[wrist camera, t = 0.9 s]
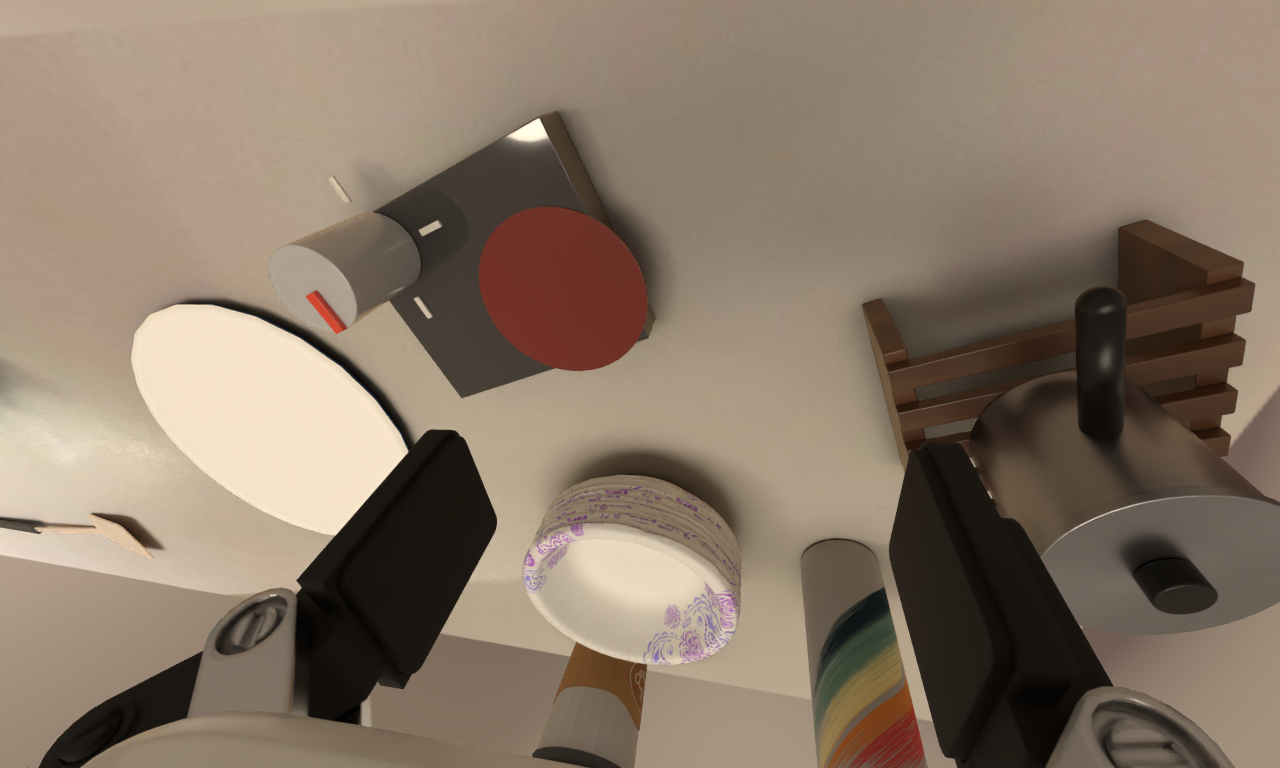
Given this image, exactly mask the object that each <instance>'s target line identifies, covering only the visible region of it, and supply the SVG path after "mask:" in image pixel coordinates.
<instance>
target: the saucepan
mask: <svg viewBox="0 0 1280 768" xmlns="http://www.w3.org/2000/svg"><path fill="white" fill-rule="evenodd" d="M1126 323H1127V299H1126V297H1125V295H1124V294H1123V293H1122V292H1121V291H1120V290H1119V289H1117V288H1114V287H1111V286H1096V287H1092V288H1090V289H1088V290H1086V291H1084V292H1083V293H1082V294H1081V295H1080V296H1079V297H1078V298H1077V300H1076V302H1075V339H1076V371H1070V372H1062V373H1056V374H1051V375H1047V376H1043V377H1040V378H1037V379H1034V380H1031V381H1028V382H1026V383H1024V384H1022V385H1019V386H1017V387H1015V388H1014V389H1012V390H1010V391H1008V392H1006V393H1005V394H1003V395H1002V396H1001V397H999V398H998V399H996V400H995V401H994V402H993V403H992V404H990V405H989V406H988V407H987V408H986V409H985V411H984V412H983V413H982V414H981V415H980V417H979V418H978V420H977V421H976V423H975V425H974V427H973V429H972V432H971V435H970V442H969V447H970V454H971V457H972V459H973V461H974V463H975V465H976V467H977V469H978V471H979V473H980V475H981V477H982V478H983V480H984V482H985V484H986V486H987V488H988V490H989V492H990V494H991V496H992V498H993V499H994V501H995V503H996V505H997V507H998V509H999V511H1000V513H1001V515H1002V517H1003V518H1013V519H1015V520H1016V521H1017V522H1019V523H1020V524H1021V526H1022V527H1023V529H1024V530H1025V531H1026V533H1027V535H1028V537H1029V539H1030V540H1031V542H1032V544H1033V546H1034V547H1035V549H1036V551H1037V553H1038V554H1039V556H1040V558H1041V560H1042V561H1043V563H1044V565H1045V567H1046V568H1047V570H1048V572H1049V574H1050V575H1051V577H1052V579H1053V581H1054V582H1055V584H1056V586H1057V588H1058V590H1059V591H1060V593H1061V595H1062V597H1063V598H1064V600H1065V602H1066V604H1067V605H1068V607H1069V609H1070V611H1071V612H1072V614H1073V616H1074V618H1075V619H1076V621H1077V623H1078V625H1081V626H1084V627H1088V628H1091V629H1095V630H1100V631H1106V632H1112V633H1121V634H1139V635H1151V634H1152V635H1156V634H1172V633H1181V632H1189V631H1196V630H1201V629H1206V628H1211V627H1215V626H1219V625H1223V624H1227V623H1230V622H1233V621H1237V620H1240V619H1243V618H1245V617H1248V616H1251V615H1253V614H1256V613H1258V612H1260V611H1263V610H1265V609H1267V608H1269V607H1271V606H1273V605H1275V604H1276V603H1278V602H1280V502H1278V501H1276V500H1274V499H1271V498H1268V497H1266V496H1264V495H1263V494H1262V493H1261V492H1260V491H1258V490H1257V489H1256V488H1255V487H1254V486H1253V485H1252V484H1250V483H1249V482H1248V481H1247V480H1246V479H1245V478H1244V477H1242V476H1241V475H1240V474H1239V473H1238V472H1237V471H1236V470H1235V469H1233V468H1232V467H1231V466H1230V465H1229V464H1228V463H1227V462H1225V461H1224V460H1223V459H1222V458H1221V457H1220V456H1219V455H1217V454H1216V453H1215V452H1214V451H1213V450H1212V449H1211V448H1210V447H1208V446H1207V445H1206V444H1205V443H1204V442H1203V441H1202V440H1200V439H1199V438H1198V437H1197V436H1196V435H1195V434H1194V433H1192V432H1191V431H1190V430H1189V429H1188V428H1187V427H1186V426H1185V425H1183V424H1182V423H1181V422H1180V421H1179V420H1178V419H1177V418H1175V417H1174V416H1173V415H1172V414H1171V413H1170V412H1169V411H1167V410H1166V409H1165V408H1164V407H1163V406H1162V405H1161V404H1159V403H1158V402H1157V401H1156V400H1155V399H1154V398H1153V397H1152V396H1150V395H1149V394H1148V393H1147V392H1146V391H1145V390H1144V389H1142V388H1141V387H1140V386H1138V385H1137V384H1136V383H1134V382H1132V381H1130V380H1128V379H1126V378H1125V359H1126Z"/></svg>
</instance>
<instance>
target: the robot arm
mask: <svg viewBox="0 0 1280 768" xmlns="http://www.w3.org/2000/svg"><path fill="white" fill-rule="evenodd" d="M496 527H497V517H496V514H495V512H494V509H493V507H492V504H491V502H490V499H489V497H488V495H487V492H486V490H485V487H484V485H483V482H482V480H481V477H480V475H479V472H478V470H477V467H476V465H475V463H474V460H473V458H472V455H471V453H470V450H469V448H468V445H467V443H466V441H465V439H464V438H463V437H460V436H459V434H458V433H457V432H456V431H454V430H429V431H427V432H426V433H425V434H424V435H423V436H422V437H421V438H420V439H419V440H418V442H417V443H416V444H415V445H414V446H413V447H412V448H411V450H410V451H409V452H408V453H407V454H406V455H405V456H404V458H403V459H402V460H401V461H400V462H399V463H398V465H397V466H396V467H395V468H394V469H393V470H392V471H391V473H390V474H389V475H388V476H387V477H386V478H385V479H384V481H383V482H382V483H381V484H380V485H379V486H378V487H377V489H376V490H375V491H374V492H373V493H372V494H371V495H370V497H369V498H368V499H367V500H366V501H365V502H364V503H363V505H362V506H361V507H360V508H359V509H358V510H357V512H356V513H355V514H354V515H353V516H352V517H351V518H350V520H349V521H348V522H347V523H346V524H345V525H344V526H343V528H342V529H341V530H340V531H339V532H338V533H337V534H336V536H335V537H334V538H333V539H332V540H331V541H330V542H329V544H328V545H327V546H326V547H325V548H324V549H323V551H322V552H321V553H320V554H319V555H318V556H317V557H316V559H315V560H314V561H313V562H312V563H311V564H310V565H309V567H308V568H307V569H306V570H305V571H304V572H303V573H302V575H301V576H300V577H299V578H298V579H297V580H296V581H297V582H298V583H299V584H300V586H301V587H302V588H301V590H300V591H299V592H298V593H297V594H296V595H295V594H294V593H293V592H292V591H291V590H289V589H285V588H275V589H269V590H266V591H263V592H260V593H257V594H255V595H253V596H252V597H250V598H248V599H246V600H244V601H243V602H241V603H240V604H239V605H237V606H236V607H234V608H233V609H232V610H230V611H229V612H228V613H227V614H226V615H225V616H224V617H223V618H222V619H221V620H220V621H219V622H218V623H217V625H216V626H215V627H214V629H213V630H212V631H211V633H210V635H209V637H208V639H207V641H206V644H205V646H204V651H202V652H200V653H198V654H196V655H194V656H192V657H190V658H188V659H186V660H184V661H182V662H180V663H178V664H176V665H174V666H173V667H171V668H169V669H167V670H165V671H163V672H161V673H159V674H157V675H155V676H153V677H151V678H149V679H147V680H146V681H143V682H141V683H139V684H138V685H136V686H134V687H132V688H130V689H128V690H126V691H124V692H122V693H120V694H118V695H116V696H114V697H112V698H110V699H108V700H106V701H105V702H103V703H102V704H100V705H98V706H97V707H95V708H93V709H92V710H90V711H89V712H87V713H86V714H85V715H84V716H82V717H81V718H80V719H79V720H77V721H76V722H75V723H73V724H72V725H71V726H70V727H69V728H68V729H67V730H66V731H65V732H64V733H63V734H62V735H61V736H60V737H59V738H58V739H57V740H56V742H55V743H54V744H53V745H52V747H51V748H50V749H49V751H48V752H47V753H46V755H45V756H44V758H43V760H42V762H41V764H40V766H39V768H587V767H582V766H577V765H571V764H566V763H561V762H556V761H550V760H545V759H540V758H534V757H528V756H524V755H518V754H513V753H508V752H502V751H497V750H492V749H486V748H481V747H475V746H470V745H465V744H459V743H454V742H448V741H443V740H437V739H432V738H427V737H421V736H416V735H410V734H405V733H399V732H394V731H388V730H383V729H378V728H373V720H372V704H371V691H372V690H373V688H374V686H375V685H376V683H377V681H378V683H379V684H380V685H381V686H387V687H393V688H400V689H404V687H405V686H406V684H407V682H408V680H409V678H410V677H411V675H412V674H414V673H416V672H417V671H418V670H419V669H420V668H421V666H422V665H423V663H424V661H425V659H426V657H427V656H428V654H429V652H430V650H431V648H432V647H433V645H434V643H435V640H436V639H437V637H438V636H439V634H440V632H441V630H442V628H443V626H444V625H445V623H446V621H447V619H448V617H449V615H450V614H451V612H452V610H453V608H454V606H455V604H456V603H457V601H458V599H459V597H460V595H461V593H462V591H463V590H464V588H465V586H466V584H467V582H468V580H469V579H470V577H471V575H472V573H473V571H474V569H475V568H476V566H477V564H478V562H479V560H480V558H481V557H482V555H483V553H484V551H485V549H486V547H487V546H488V544H489V542H490V540H491V538H492V536H493V535H494V533H495V530H496ZM889 556H890V562H891V566H892V570H893V574H894V577H895V581H896V585H897V589H898V592H899V596H900V600H901V604H902V607H903V611H904V615H905V619H906V622H907V626H908V630H909V633H910V637H911V641H912V645H913V648H914V652H915V656H916V660H917V663H918V667H919V671H920V675H921V678H922V682H923V686H924V689H925V693H926V697H927V701H928V704H929V708H930V712H931V716H932V719H933V723H934V727H935V731H936V734H937V738H938V742H939V745H940V748H941V750H942V752H943V754H944V756H945V757H947V758H953V759H955V761H956V765H957V768H1235V767H1234V766H1233V765H1232V763H1231V762H1230V760H1229V759H1228V758H1227V756H1226V755H1225V754H1224V752H1223V751H1222V750H1221V748H1220V747H1219V746H1218V744H1217V743H1215V741H1213V740H1212V739H1211V738H1210V737H1209V736H1208V735H1207V734H1206V733H1205V732H1204V731H1203V730H1202V729H1201V728H1200V727H1198V726H1197V725H1196V724H1195V723H1194V722H1193V721H1191V720H1190V719H1188V718H1187V717H1185V716H1184V715H1182V714H1181V713H1179V712H1178V711H1177V710H1175V709H1174V708H1172V707H1171V706H1169V705H1167V704H1165V703H1163V702H1161V701H1159V700H1157V699H1155V698H1153V697H1151V696H1149V695H1147V694H1144V693H1141V692H1137V691H1134V690H1130V689H1127V688H1123V687H1114V686H1113V685H1112V683H1111V681H1110V679H1109V677H1108V676H1107V674H1106V672H1105V671H1104V669H1103V667H1102V665H1101V663H1100V662H1099V660H1098V658H1097V656H1096V655H1095V653H1094V651H1093V649H1092V648H1091V646H1090V644H1089V642H1088V640H1087V639H1086V637H1085V635H1084V634H1083V632H1082V630H1081V628H1080V626H1079V625H1078V623H1077V621H1076V619H1075V618H1074V616H1073V614H1072V612H1071V611H1070V609H1069V607H1068V605H1067V604H1066V602H1065V600H1064V598H1063V597H1062V595H1061V593H1060V591H1059V590H1058V588H1057V586H1056V584H1055V582H1054V581H1053V579H1052V577H1051V575H1050V574H1049V572H1048V570H1047V568H1046V567H1045V565H1044V563H1043V561H1042V560H1041V558H1040V556H1039V554H1038V553H1037V551H1036V549H1035V547H1034V546H1033V544H1032V542H1031V540H1030V539H1029V537H1028V535H1027V533H1026V531H1025V530H1024V529H1023V527H1022V526H1021V524H1020V523H1019V522H1017V521H1016V520H1015V519H1013V518H1001V517H1000V515H999V513H998V511H997V509H996V507H995V506H994V504H993V502H992V500H991V498H990V496H989V494H988V492H987V490H986V489H985V487H984V485H983V483H982V481H981V479H980V477H979V475H978V474H977V472H976V470H975V468H974V466H973V464H972V462H971V460H970V459H969V457H968V455H967V453H966V451H965V449H964V448H963V446H962V445H961V444H960V443H958V442H923V444H922V445H921V448H920V449H912V450H911V451H910V454H909V458H908V462H907V467H906V471H905V476H904V480H903V485H902V489H901V494H900V498H899V503H898V507H897V512H896V516H895V521H894V525H893V530H892V534H891V539H890V544H889ZM29 768H31V767H29Z"/></svg>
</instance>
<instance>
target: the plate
mask: <svg viewBox="0 0 1280 768" xmlns="http://www.w3.org/2000/svg"><path fill="white" fill-rule="evenodd" d="M131 362H132V366H133V370H134V374H135V378H136V382H137V386H138V389H139V391H140V393H141V395H142V397H143V398H144V400H145V402H146V404H147V406H148V408H149V410H150V411H151V413H152V415H153V417H154V418H155V420H156V421H157V422H158V423H159V425H160V426H161V427H162V428H163V430H164V431H165V432H166V434H167V435H168V436H169V437H170V439H171V440H172V441H173V442H174V444H175V445H176V446H177V447H178V448H179V449H180V450H181V451H182V452H183V453H184V454H185V455H186V456H188V457H189V458H190V459H191V460H192V461H193V462H194V463H195V464H196V465H197V466H198V467H199V468H200V469H201V470H202V471H203V472H205V473H206V474H207V475H209V476H210V477H211V478H213V479H214V480H215V481H217V482H218V483H219V484H221V485H222V486H223V487H225V488H226V489H227V490H229V491H230V492H231V493H233V494H234V495H236V496H238V497H239V498H241V499H243V500H245V501H246V502H248V503H250V504H251V505H253V506H255V507H256V508H258V509H260V510H261V511H263V512H266V513H268V514H270V515H272V516H275V517H277V518H279V519H281V520H284V521H286V522H288V523H290V524H293V525H295V526H299V527H302V528H306V529H309V530H312V531H316V532H319V533H323V534H329V535H336V534H337V533H338V532H339V531H340V530H341V529H342V528H343V526H344V525H345V524H346V523H347V522H348V521H349V520H350V518H351V517H352V516H353V515H354V514H355V513H356V512H357V510H358V509H359V508H360V507H361V506H362V505H363V503H364V502H365V501H366V500H367V499H368V498H369V497H370V495H371V494H372V493H373V492H374V491H375V490H376V489H377V487H378V486H379V485H380V484H381V483H382V482H383V481H384V479H385V478H386V477H387V476H388V475H389V474H390V473H391V471H392V470H393V469H394V468H395V467H396V466H397V465H398V463H399V462H400V461H401V460H402V459H403V458H404V456H405V455H406V454H407V453H408V452H409V451H410V450H409V448H408V446H407V443H406V441H405V439H404V437H403V434H402V432H401V431H400V429H399V428H398V427H397V425H396V424H395V422H394V421H393V420H392V418H391V417H390V416H389V414H388V413H387V412H386V410H385V409H384V407H383V406H382V405H381V403H380V402H379V401H378V399H377V398H376V397H375V396H374V395H373V394H372V393H371V392H370V391H369V390H368V389H367V388H366V387H365V386H364V385H362V384H361V383H360V382H359V381H358V380H357V379H356V378H355V377H354V376H353V375H352V374H351V373H350V372H349V371H348V370H347V369H346V368H345V367H344V366H343V365H341V364H340V363H338V362H337V361H335V360H334V359H333V358H331V357H330V356H328V355H327V354H325V353H324V352H323V351H321V350H320V349H318V348H317V347H315V346H314V345H313V344H311V343H310V342H308V341H307V340H305V339H304V338H303V337H301V336H299V335H297V334H295V333H293V332H291V331H288V330H286V329H284V328H282V327H280V326H278V325H276V324H274V323H272V322H270V321H268V320H266V319H264V318H262V317H260V316H257V315H254V314H250V313H246V312H243V311H239V310H235V309H231V308H228V307H224V306H220V305H217V304H177V305H174V306H171V307H168V308H166V309H163V310H161V311H158V312H155V313H153V314H150V315H149V316H148V317H147V319H146V320H145V321H144V322H143V324H142V325H141V326H140V327H139V329H138V330H137V331H136V332H135V335H134V342H133V349H132V356H131Z"/></svg>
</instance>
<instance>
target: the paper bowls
mask: <svg viewBox="0 0 1280 768" xmlns="http://www.w3.org/2000/svg"><path fill="white" fill-rule="evenodd" d="M523 581H524V585H525V589H526V591H527V594H528V596H529V597H530V599H531V601H532V603H533V604H534V606H535V607H536V609H537V610H538V611H539V612H540V613H541V615H542V616H543V617H544V618H545V619H546V620H547V621H548V622H550V623H551V624H552V625H553V626H554V627H555V628H557V629H558V630H559V631H561V632H562V633H564V634H565V635H566V636H568V637H569V638H571V639H573V640H575V641H576V642H578V643H580V644H582V645H584V646H586V647H588V648H590V649H592V650H595V651H597V652H600V653H602V654H605V655H608V656H611V657H614V658H618V659H622V660H626V661H631V662H636V663H642V664H652V665H677V664H684V663H690V662H694V661H698V660H701V659H704V658H706V657H709V656H710V655H713V654H714V653H716V652H718V651H719V650H720V649H722V648H723V647H724V646H725V645H726V644H727V643H728V642H729V641H730V639H731V638H732V637H733V635H734V633H735V631H736V629H737V626H738V622H739V617H740V597H741V550H740V547H739V543H738V541H737V539H736V538H735V536H734V534H733V532H732V530H731V528H730V527H729V525H728V524H727V523H726V522H725V521H724V519H723V518H722V517H721V516H720V515H719V514H718V513H717V512H716V511H715V510H714V509H713V508H712V507H710V506H709V505H708V504H706V503H705V502H704V501H702V500H701V499H699V498H698V497H696V496H694V495H693V494H691V493H688V492H686V491H685V490H683V489H682V488H680V487H678V486H676V485H674V484H672V483H670V482H667V481H664V480H661V479H657V478H653V477H648V476H638V475H615V476H610V477H600V478H594V479H589V480H587V481H583V482H581V483H580V484H575V485H574V486H572V487H570V488H568V489H567V490H565V491H564V492H563V493H561V494H560V495H559V496H558V497H557V498H556V499H555V500H554V502H553V503H552V505H551V506H550V508H549V510H548V512H547V513H546V515H545V517H544V518H543V521H542V523H541V525H540V527H539V529H538V531H537V533H536V535H535V537H534V539H533V542H532V544H531V546H530V548H529V550H528V551H527V553H526V556H525V559H524V564H523Z"/></svg>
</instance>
